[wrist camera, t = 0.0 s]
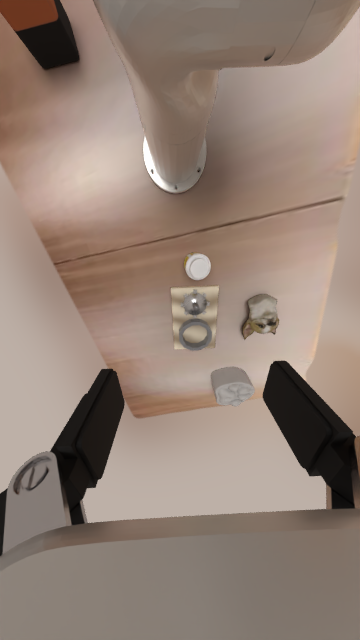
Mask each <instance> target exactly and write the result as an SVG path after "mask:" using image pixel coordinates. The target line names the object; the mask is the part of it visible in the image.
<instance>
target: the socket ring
mask: <svg viewBox="0 0 360 640" xmlns="http://www.w3.org/2000/svg"><path fill="white" fill-rule="evenodd" d="M194 325H200V326H202V327H204V328H206V330H207V336H206V337H205V338H204V340H202V341H200V342H199V343H190V342H188V341H186V340H185V339H184V338H183V333H184V331H185V330H186V329H187V328H189V327H190V326H194ZM211 340H212V331H211V328H210V327H209V325H208V323H207V322H206V321H204V320H202V319H200V318H195V319H189V320H187V321H185V322H184V323H183V324H182V325H181V327H180V329H179V341H180V343H181V344H182V345H183V347H184V348H187V349H189V350H199V349H200V350H201V349H203V348H205V347H207V346H208V344H209V343H210V342H211Z"/></svg>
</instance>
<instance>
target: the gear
mask: <svg viewBox="0 0 360 640" xmlns="http://www.w3.org/2000/svg"><path fill="white" fill-rule="evenodd" d="M183 296H184V297H185V299H184V302H181V307H184V309H185V311H184V314H185V315H188V314H191V315H193V318H197V315H199V314H201V313H202V314H205V313H206V311H205V309H206V306H210V302H209V301H206V299H205V297H206V296H207V295H206V293H204V292H203V293H202V294H201V293H198V292H197V289H193V293H190V294H187V293H185V294H184V295H183Z"/></svg>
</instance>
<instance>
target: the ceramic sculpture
mask: <svg viewBox="0 0 360 640" xmlns="http://www.w3.org/2000/svg"><path fill="white" fill-rule="evenodd" d="M276 304H277V299H275V298H273V297H271V296H270V295H268V294H263V295H257V296H255V297H253V298H251V299H249V301H248V306H249V308H250V314H249V319H248V320H247V321H246V323H245V324H244V326H243V328H242V334H243V337H244V340H245V339H246V338H247V337H248V336H249V335H251V334H252V333H253V332H254V331H256V332H257V333H261V334H264V333H269V332H272V333H273V334H275V332H276V328H277V326H278V325H279V319H278V318H277V310H276Z"/></svg>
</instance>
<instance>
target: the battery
mask: <svg viewBox="0 0 360 640" xmlns="http://www.w3.org/2000/svg"><path fill="white" fill-rule="evenodd" d="M0 12H1V14H2V15H3V16H4V18H5V19H6V20H7V22H8V23H9V24H10V26H11V27H12V28H13V30H14V31H15V32H16V34H17V35H18V36H19V38H20V39H21V40H22V42H23V43H24V44H25V45H26V47H27V48H28V49H29V51H30V52H31V53H32V55H33V56H34V57H35V59H36V60H37V61H38V63H39V64H40V65H41V67H42V68H44V69H46V68H50V67H54V66H58V65H62V64H65V63H69V62H73V61H77V60H79V54H78V50H77V47H76V43H75V40H74V36H73V32H72V29H71V25H70V21H69V19H68V16H67V14H66V12H65V10H64V8H63V6H62V4H61V2H60V0H0Z"/></svg>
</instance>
